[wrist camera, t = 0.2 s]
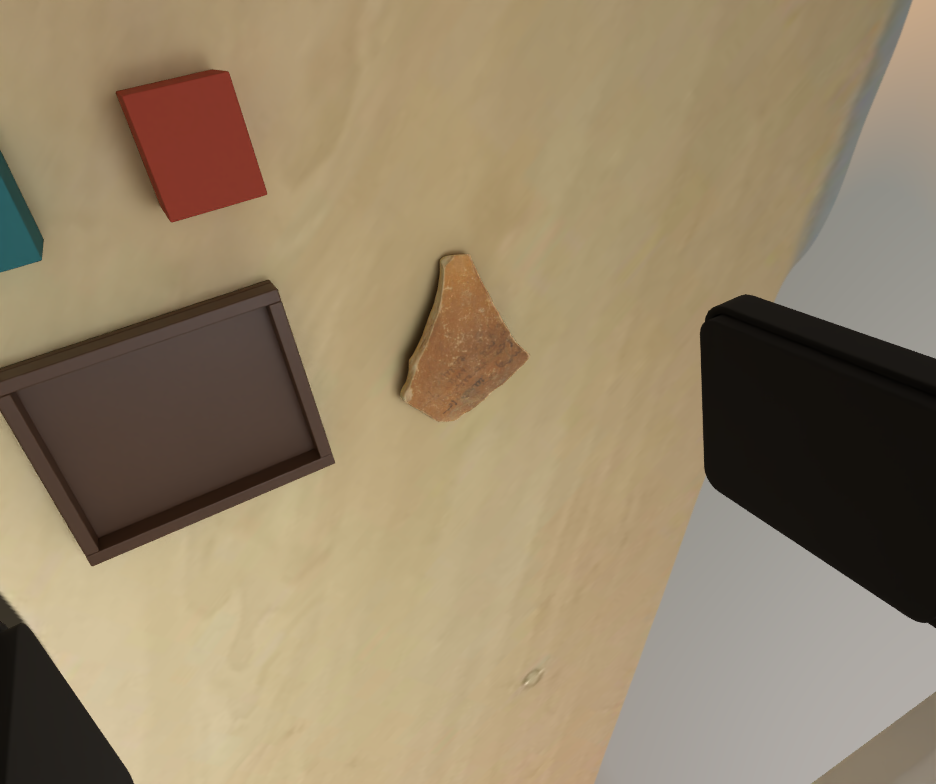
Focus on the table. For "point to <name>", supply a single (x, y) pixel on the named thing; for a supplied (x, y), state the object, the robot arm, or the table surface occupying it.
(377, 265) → the table surface
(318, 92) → the table surface
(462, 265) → the pottery shard
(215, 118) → the brick pad
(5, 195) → the teal pad
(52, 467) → the tray
